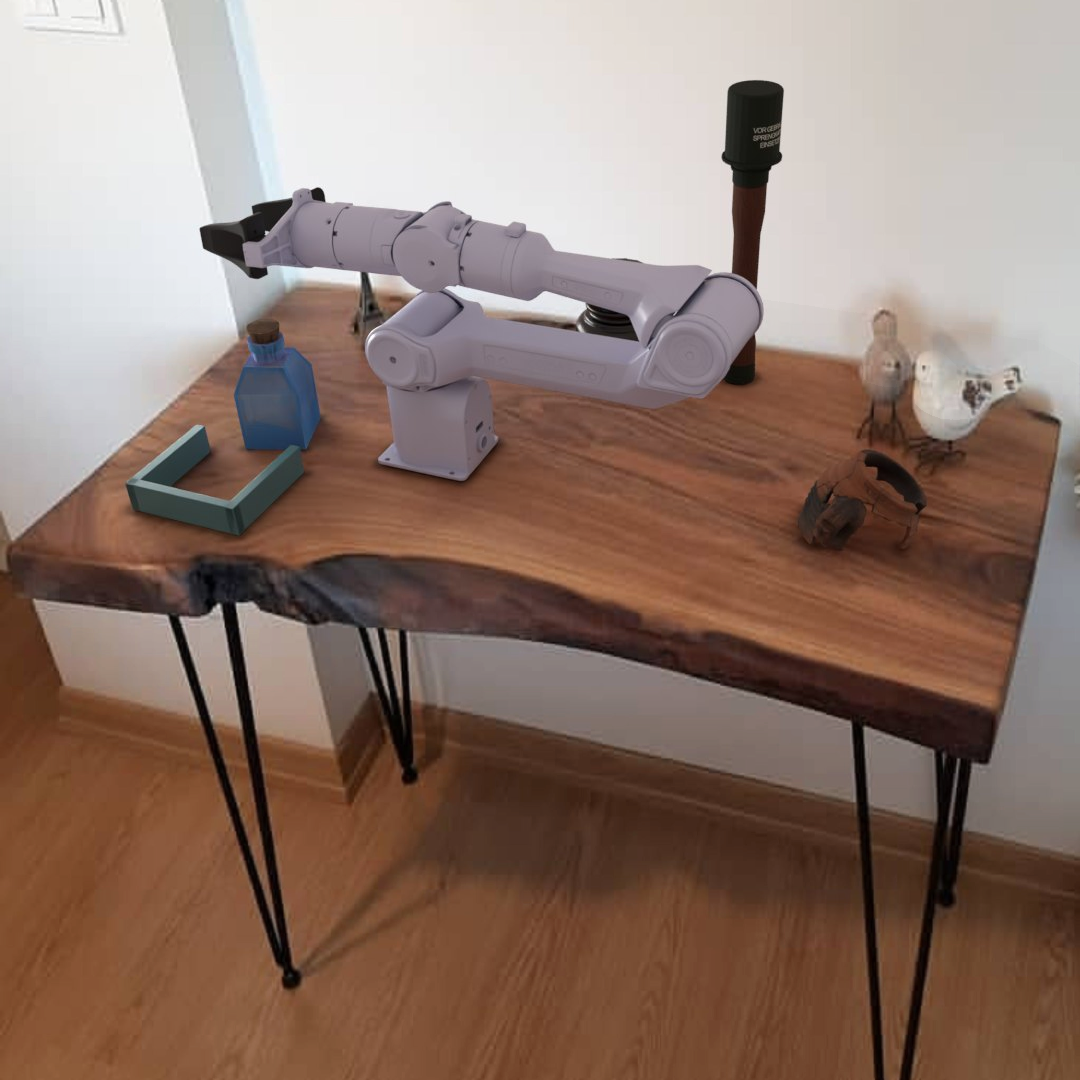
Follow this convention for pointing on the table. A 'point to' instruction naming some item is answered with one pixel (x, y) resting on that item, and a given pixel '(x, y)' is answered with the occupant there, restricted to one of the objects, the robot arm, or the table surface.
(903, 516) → the brown curved piece
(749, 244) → the grenade
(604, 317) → the ink bottle
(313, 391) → the perfume bottle
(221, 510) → the bay
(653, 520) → the table surface
